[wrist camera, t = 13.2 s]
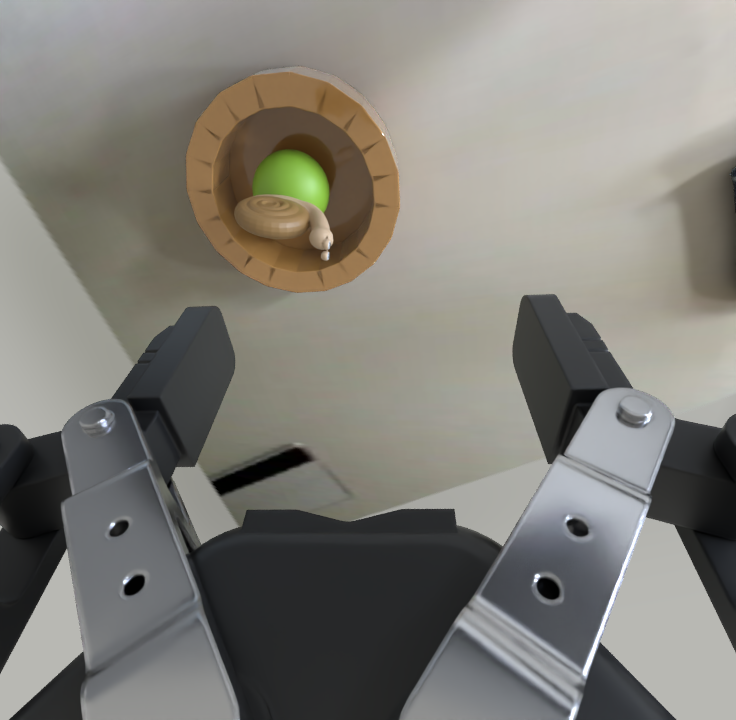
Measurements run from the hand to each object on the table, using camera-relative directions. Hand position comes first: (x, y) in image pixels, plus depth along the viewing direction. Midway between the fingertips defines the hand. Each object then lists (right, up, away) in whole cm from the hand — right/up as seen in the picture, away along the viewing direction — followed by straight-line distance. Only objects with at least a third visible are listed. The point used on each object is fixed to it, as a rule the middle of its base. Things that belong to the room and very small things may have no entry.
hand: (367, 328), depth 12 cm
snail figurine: (-5, +13, +22) cm, 26 cm away
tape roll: (-5, +13, +22) cm, 26 cm away
